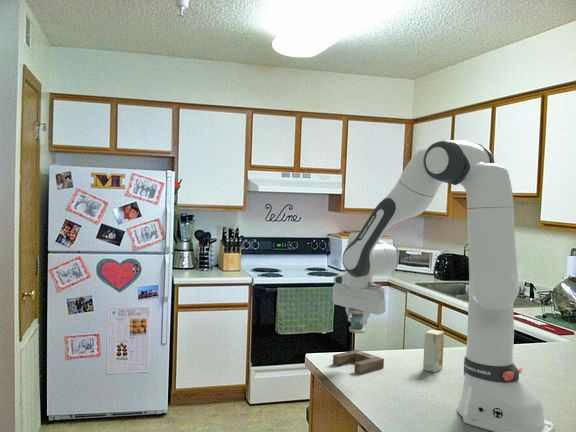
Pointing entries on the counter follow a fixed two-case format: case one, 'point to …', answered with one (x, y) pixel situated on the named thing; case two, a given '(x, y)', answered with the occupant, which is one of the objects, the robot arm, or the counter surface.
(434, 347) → the skincare box
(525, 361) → the counter surface
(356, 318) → the thread spool
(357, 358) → the notched board
